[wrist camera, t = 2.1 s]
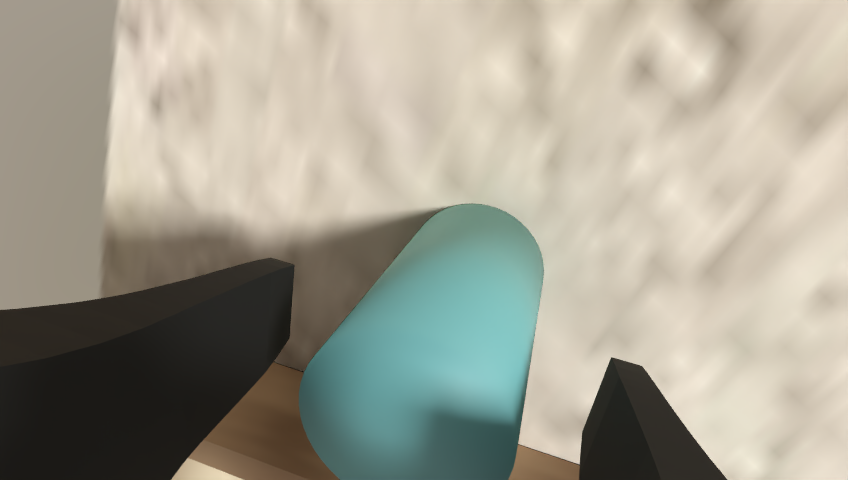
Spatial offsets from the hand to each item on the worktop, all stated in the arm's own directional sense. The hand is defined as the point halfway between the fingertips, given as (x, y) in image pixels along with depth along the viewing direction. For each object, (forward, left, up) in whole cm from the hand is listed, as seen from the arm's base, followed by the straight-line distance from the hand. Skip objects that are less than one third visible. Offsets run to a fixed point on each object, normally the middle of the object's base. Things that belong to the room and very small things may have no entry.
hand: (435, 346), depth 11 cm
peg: (0, 0, -4) cm, 4 cm away
